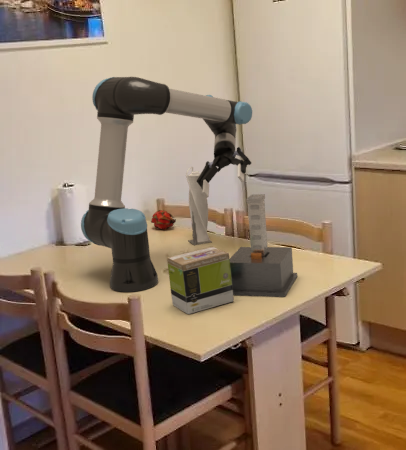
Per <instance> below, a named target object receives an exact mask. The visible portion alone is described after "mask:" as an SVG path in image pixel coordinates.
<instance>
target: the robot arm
mask: <svg viewBox="0 0 406 450" xmlns="http://www.w3.org/2000/svg"><path fill="white" fill-rule="evenodd" d="M91 98H92V104H93V106H94V107H95V110H96V111H97V116H96V119H97V120H98V122H99V123H100V134H99V142H98V143H99V145H98V156H97V168H96V176H95V186H94V187H95V188H94V198H93V199H92V200H91V201H89V203H88V210H86V211H85V213H83V215H82V218H81V220H80V221H81V222H80V228H81V233H82V234H83V236H84V237H85V239H86V240H87V241H89V242H90V243H93V244H94V245H97V246H101V247H105V248H108V249H111V256H112V266H111V267H112V268H111V271H110V272H111V273H110V278H109V284H110V285H109V288H111V290H113V291H115V292H121V293H122V292H123V293H133V292H140V291H144V290H148V289H151V288H153V287H155V286H156V285H158V283H159V277H158V273H157V270H156V268H155V266H154V264H153V262H152V260H151V259H152V258H151V254H150V244H149V234H148V222H147V218H146V215H145V213H144V212H143V211H141V210H139V209H136V208H128V207H127V208H126V206H125V204H124V203H123V202H122V194H123V186H124V185H123V183H124V173H125V163H126V162H125V161H126V152H127V142H128V131H129V126H131V125H132V124H133V123H134V117H135V115H156V116H157V115H159V116H163V115H164V114H165V113H166V114H172V115H178V116H184V117H191V118H197V119H202V120H203V121H204V122H205V124H206V125H207V127H208V128H209V129H210V130H211V132H212V133H213V135H214V143H213V144H214V145H213V161H211V162H210V161H209V160H208V161H206V162H205V165H204V167H203V169H202V171H201V172H200V173H201V174H200V176H199V178H198V179H197V183H198V184H199V185H200V187H201V188H202V190H203V191H202V193H203V194H204V195H205V196H206V198H207V199H208V198H209V195H210V184H209V183H210V182H211V181H212V179H213V178H214V177H215V175H216V174H217V173H219V172H221V170H222V169H223V168H226V167H228V166H230V165H234V166H237V178H238V179H239V180H240V182H241V183H244V182H245V174H246V172H247V168H248V166H250V165H252V161H251V159H250V158H249V157H248V156H246V154H244V152H243V150H242V148H241V147H240V146H238V147H237V148H236V137H237V136H236V135H237V125H246V124H248V123H249V122H251V120H252V117H253V108H252V106H251V105H250V103H249V102H247V101H241V100H240V101H234V100H228V99H225V98H221V97H220V98H218V97H214V96H213V95H211V94H207V95H206V94H205V95H204V94H198V93H194V92H188V91H183V90H179V89H178V90H177V89H173V88H170V87H169V86H168V85H167V84H165V83H161V82H158V81H157V82H156V81H153V80H149V79H146V78H142V77H138V76H113V77H109V78H104V79H103V80H100V81H99V82H98V83H97V84H96V86H95V87H94V89H93V92H92V97H91ZM236 156H237V157H238V156H239V157H240V158H241V159H239V158H237V157H236Z"/></svg>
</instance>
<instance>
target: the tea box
mask: <svg viewBox="0 0 406 450" xmlns="http://www.w3.org/2000/svg"><path fill="white" fill-rule="evenodd" d="M166 262H167V269H168V276H169V277H168V278H169V285H170V287H169V288H170V294H171V295H170V296H171V301H172V306H174V307H175V308H176V309H178V310H180V311H182V312H183V313H185V314H186V315H191V314H194V313H197V312H200V311H205V310H208V309H211V308H215V307H218V306H222V305H226V304H229V303H232V302H234V300H235V299H234V295H233V288H232V277H231V268H230V253H229V252H227V251H224V250H221V249H220V248H216V247H214V246H209V247H204V248H201V249H197V250H196V249H195V250H192V251H187V252H185V253H181V254H177V255H172V256H168V257H167V258H166Z"/></svg>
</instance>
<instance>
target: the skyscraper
mask: <svg viewBox="0 0 406 450" xmlns="http://www.w3.org/2000/svg"><path fill="white" fill-rule="evenodd" d="M190 170H191V173H190V174H188V173H189V171H190ZM185 174H186V175H185V177H186V178H185V179H186V180H187V183H188V187H189V188H188V189H189V190H188V208H189V216H190V220H191V228H192V234H191V235H192V239H188V240H187V241H188V243H190V244H191V245H193V246H200V245H201V246H202V245H205V244H211V243H213V241H212V240H211V238H210V236H209V234H208V222H209V204H208V198H206V196H205V195H204V194H203V193H202V191H203V190H202V188H201V187H200V185H199V184H198V183H197V179H198V178H199V176H200V174H201V172H200V171H196V170H195V171H194V167H193V166H190V167H188V169H187V171H186V173H185Z"/></svg>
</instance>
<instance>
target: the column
mask: <svg viewBox="0 0 406 450" xmlns="http://www.w3.org/2000/svg"><path fill="white" fill-rule="evenodd" d="M265 199H266V194H261V193H260V194H259V193H258V194H254V193H253V194H250V195H249V196H248V197H247V198H246V199H245V200H246V204H247V213H248V217H247V218H248V227H249V230H248V231H249V241H250V243H249V244H250V247H251V253H262V257H267V255H268V248H267V247H268V238H267V236H268V235H267V233H268V232H267V220H266V219H267V218H266V207H265V206H266V205H265V203H266V202H265Z"/></svg>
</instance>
